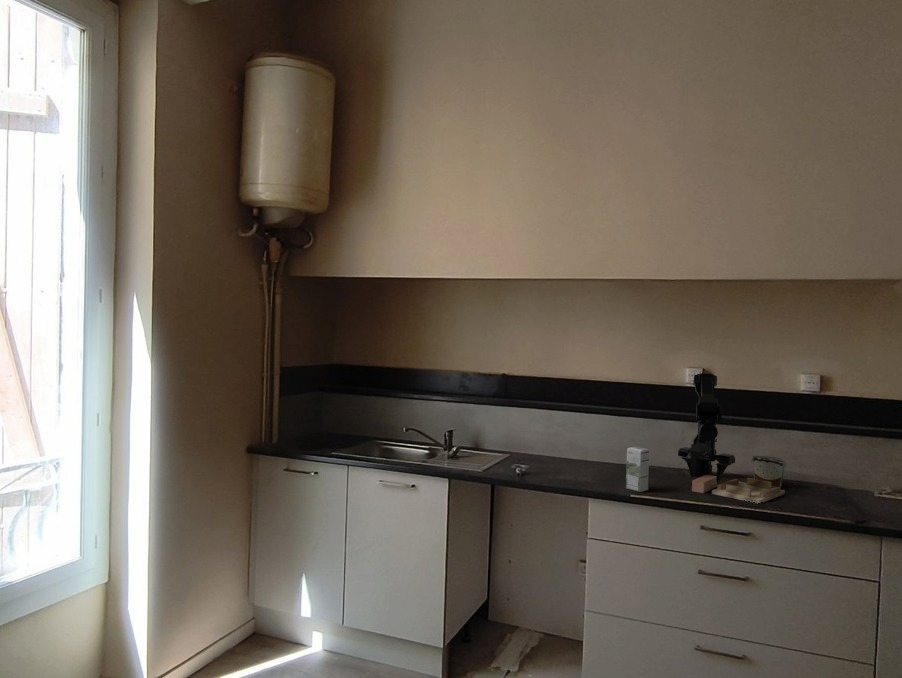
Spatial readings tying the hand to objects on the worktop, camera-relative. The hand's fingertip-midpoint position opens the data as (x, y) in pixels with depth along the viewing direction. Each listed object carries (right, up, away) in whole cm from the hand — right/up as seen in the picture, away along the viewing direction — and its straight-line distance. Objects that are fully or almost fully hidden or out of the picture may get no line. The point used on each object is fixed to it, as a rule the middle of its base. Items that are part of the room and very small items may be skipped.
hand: (705, 479), depth 233 cm
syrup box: (-26, -3, -5) cm, 26 cm away
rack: (+13, -4, -5) cm, 15 cm away
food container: (+28, -4, +10) cm, 31 cm away
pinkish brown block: (0, -4, 0) cm, 4 cm away
